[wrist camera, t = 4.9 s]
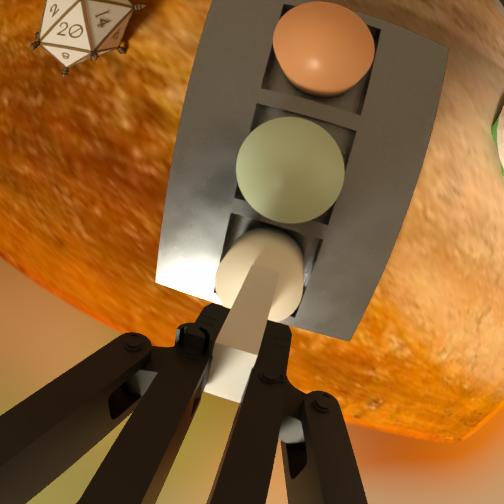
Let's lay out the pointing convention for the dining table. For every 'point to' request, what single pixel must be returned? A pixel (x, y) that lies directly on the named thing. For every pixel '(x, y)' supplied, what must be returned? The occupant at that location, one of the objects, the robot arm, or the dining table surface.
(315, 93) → the terracotta button
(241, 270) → the ivory button
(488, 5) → the dining table surface
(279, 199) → the sage button
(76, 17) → the game die
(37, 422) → the robot arm
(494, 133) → the cup
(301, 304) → the panel
